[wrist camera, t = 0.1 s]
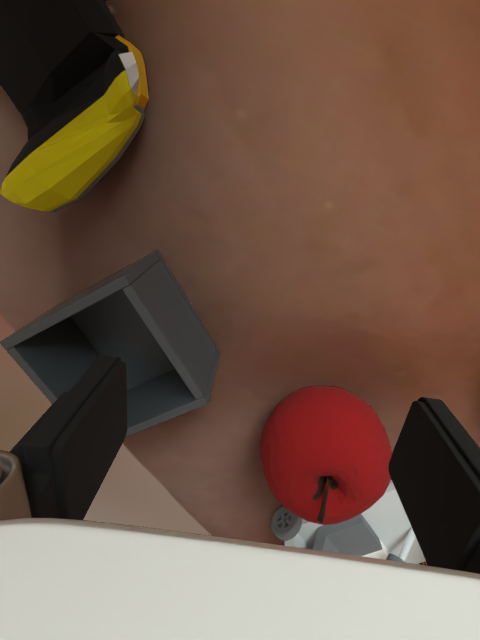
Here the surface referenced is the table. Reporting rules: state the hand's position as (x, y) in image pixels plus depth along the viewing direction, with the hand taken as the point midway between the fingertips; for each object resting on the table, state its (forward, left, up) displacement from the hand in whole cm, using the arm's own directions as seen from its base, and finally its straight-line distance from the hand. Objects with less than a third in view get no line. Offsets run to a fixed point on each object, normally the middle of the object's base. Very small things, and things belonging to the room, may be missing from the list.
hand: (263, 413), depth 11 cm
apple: (+12, -1, -15) cm, 19 cm away
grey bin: (-1, -10, -15) cm, 18 cm away
